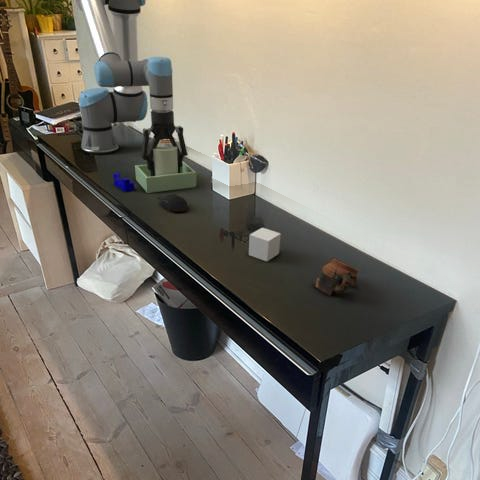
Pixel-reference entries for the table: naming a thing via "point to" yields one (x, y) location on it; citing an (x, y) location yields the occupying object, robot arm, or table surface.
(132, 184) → the cable holder
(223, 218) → the table surface
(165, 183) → the bin
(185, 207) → the gaming mouse
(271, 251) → the white cube
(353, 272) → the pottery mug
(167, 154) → the can
